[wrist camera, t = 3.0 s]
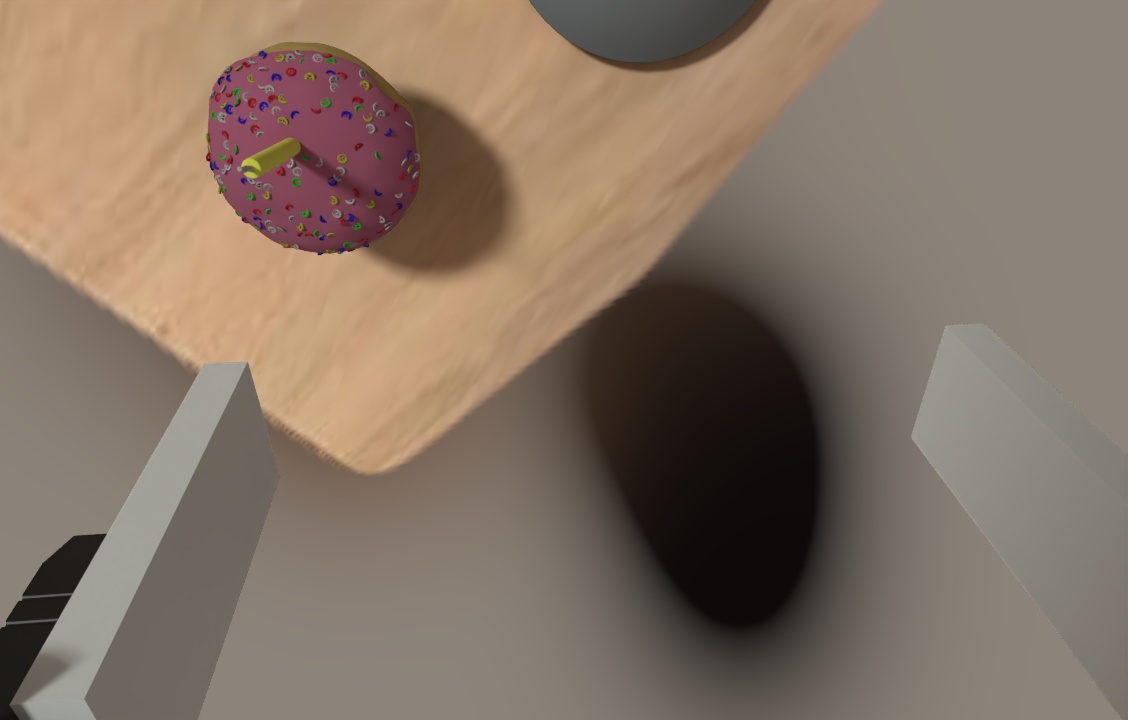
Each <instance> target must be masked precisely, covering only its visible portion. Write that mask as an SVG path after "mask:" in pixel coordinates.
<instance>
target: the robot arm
mask: <svg viewBox="0 0 1128 720" xmlns="http://www.w3.org/2000/svg"><path fill="white" fill-rule="evenodd" d="M911 438H912V439H913V441H914V442H915V443H916V445H917V446H918V447H919V449H920V450H921V451H922V453H923V454H924V455H925V457H926V458H927V459H928V461H929V462H930V463H931V465H932V466H933V467H934V469H935V470H936V471H937V473H938V474H939V475H940V477H941V478H942V479H943V481H944V482H945V483H946V485H947V486H948V487H949V489H950V490H951V491H952V493H953V494H954V495H955V497H956V498H957V500H958V501H959V502H960V504H961V505H962V506H963V508H964V509H965V510H966V511H967V513H968V514H969V516H970V517H971V518H972V520H973V521H974V522H975V524H976V525H977V526H978V528H979V529H980V530H981V531H982V533H983V534H984V535H985V537H986V538H987V540H988V541H989V542H990V544H991V545H992V546H993V548H994V549H995V550H996V551H997V553H998V554H999V556H1000V557H1001V558H1002V560H1003V561H1004V562H1005V564H1006V565H1007V566H1008V568H1009V569H1010V570H1011V572H1012V573H1013V574H1014V576H1015V577H1016V578H1017V580H1018V581H1019V582H1020V584H1021V585H1022V586H1023V588H1024V589H1025V590H1026V592H1027V593H1028V594H1029V596H1030V597H1031V599H1032V600H1033V601H1034V603H1035V604H1036V605H1037V606H1038V608H1039V609H1040V611H1041V612H1042V613H1043V614H1044V616H1045V617H1046V619H1047V620H1048V621H1049V623H1050V624H1051V625H1052V627H1053V628H1054V629H1055V630H1056V632H1057V633H1058V635H1059V636H1060V637H1061V639H1062V640H1063V641H1064V643H1065V644H1066V645H1067V647H1068V648H1069V649H1070V651H1071V652H1072V653H1073V655H1074V656H1075V657H1076V659H1077V660H1078V661H1079V663H1080V664H1081V665H1082V667H1083V668H1084V669H1085V671H1086V672H1087V673H1088V675H1089V676H1090V677H1091V679H1092V680H1093V681H1094V683H1095V684H1096V685H1097V687H1098V688H1099V689H1100V691H1101V692H1102V694H1103V695H1104V696H1105V698H1106V699H1107V700H1108V702H1109V703H1110V704H1111V706H1112V707H1113V708H1114V710H1115V711H1116V712H1117V714H1118V715H1119V716H1120V717H1121V719H1122V720H1128V454H1127V453H1125V452H1124V451H1123V450H1122V449H1121V448H1120V447H1119V446H1118V445H1117V444H1116V443H1114V442H1113V441H1112V440H1111V439H1110V438H1109V437H1108V436H1107V435H1106V434H1105V433H1104V432H1102V431H1101V430H1100V429H1099V428H1098V427H1097V426H1096V425H1095V424H1094V423H1092V422H1091V421H1090V420H1089V419H1088V418H1087V417H1086V416H1085V415H1084V414H1083V413H1082V412H1081V411H1079V410H1078V409H1077V408H1076V407H1075V406H1074V405H1073V404H1072V403H1071V402H1069V401H1068V400H1067V399H1066V398H1065V397H1064V396H1063V395H1062V394H1061V393H1060V392H1059V391H1057V390H1056V389H1055V388H1054V387H1053V386H1052V385H1051V384H1050V383H1049V382H1048V381H1047V380H1045V379H1044V378H1043V377H1042V376H1041V375H1040V374H1039V373H1038V372H1037V371H1035V370H1034V369H1033V368H1032V367H1031V366H1030V365H1029V364H1028V363H1027V362H1026V361H1025V360H1024V359H1022V358H1021V357H1020V356H1019V355H1018V354H1017V353H1016V352H1015V351H1014V350H1013V349H1011V348H1010V347H1009V346H1008V345H1007V344H1006V343H1005V342H1004V341H1003V340H1002V339H1000V338H999V337H998V336H997V335H996V334H995V333H994V332H993V331H992V330H991V329H990V328H988V327H987V326H986V325H985V324H964V325H946V327H945V330H944V333H943V337H942V340H941V343H940V346H939V349H938V353H937V356H936V359H935V362H934V365H933V368H932V372H931V375H930V378H929V381H928V385H927V388H926V391H925V394H924V398H923V401H922V404H921V407H920V410H919V414H918V416H917V420H916V423H915V426H914V429H913V433H912V436H911ZM279 479H280V474H279V470H278V467H277V463H276V460H275V456H274V453H273V449H272V446H271V442H270V439H269V435H268V431H267V428H266V424H265V421H264V417H263V414H262V410H261V407H260V403H259V400H258V396H257V393H256V389H255V385H254V382H253V378H252V375H251V371H250V368H249V364H248V362H232V363H212V364H204V365H203V367H202V369H201V370H200V372H199V374H198V376H197V377H196V379H195V381H194V383H193V384H192V386H191V388H190V390H189V391H188V393H187V395H186V397H185V399H184V400H183V402H182V404H181V405H180V407H179V409H178V411H177V412H176V414H175V416H174V418H173V420H172V421H171V423H170V425H169V427H168V428H167V430H166V432H165V434H164V435H163V437H162V439H161V440H160V442H159V444H158V446H157V447H156V449H155V451H154V453H153V454H152V456H151V458H150V460H149V461H148V463H147V465H146V467H145V468H144V470H143V472H142V474H141V475H140V477H139V479H138V481H137V482H136V484H135V486H134V488H133V490H132V491H131V493H130V495H129V497H128V498H127V500H126V502H125V503H124V505H123V507H122V509H121V511H120V512H119V514H118V516H117V518H116V519H115V521H114V523H113V525H112V526H111V528H110V530H109V531H108V533H107V534H95V535H82V536H81V535H79V536H73V537H72V538H71V539H70V540H69V541H68V542H67V543H65V544H64V545H63V546H62V547H61V548H60V549H59V550H58V551H56V552H55V553H54V554H53V555H52V556H51V557H49V558H48V559H47V560H46V561H45V562H44V563H43V564H42V565H41V567H40V568H39V570H38V571H37V573H36V575H35V576H34V578H33V579H32V581H31V582H30V584H29V585H28V587H27V589H26V590H25V592H24V593H23V599H22V601H18V603H17V604H16V606H15V607H14V609H13V610H12V612H11V613H10V615H9V617H8V618H7V620H6V626H5V627H2V628H1V629H0V720H198V717H199V714H200V711H201V708H202V705H203V702H204V699H205V696H206V693H207V690H208V688H209V685H210V682H211V679H212V676H213V673H214V670H215V667H216V664H217V661H218V658H219V655H220V652H221V649H222V646H223V643H224V640H225V637H226V634H227V631H228V629H229V626H230V623H231V620H232V617H233V614H234V611H235V608H236V605H237V602H238V599H239V596H240V593H241V590H242V588H243V585H244V582H245V579H246V576H247V573H248V570H249V567H250V564H251V561H252V558H253V555H254V552H255V549H256V546H257V543H258V540H259V538H260V534H261V532H262V529H263V526H264V523H265V520H266V517H267V514H268V511H269V508H270V505H271V502H272V499H273V496H274V493H275V490H276V488H277V484H278V481H279Z"/></svg>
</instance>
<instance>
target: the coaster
mask: <svg viewBox="0 0 1128 720" xmlns="http://www.w3.org/2000/svg"><path fill="white" fill-rule="evenodd" d="M529 1H530V2H531V4H532V5H533V7H534V8H535V9H536V10H537V12H538V13H539V14H540V15H541V17H542V18H543V19H544V20H545V21H546V22H547V23H548V24H549V25H550V26H551V27H552V28H553V29H554V30H555V31H557V32H558V33H559V34H560V35H562V36H563V37H564V38H566V39H567V40H569V41H570V42H571V43H573V44H575V45H576V46H578V47H580V48H582V49H584V50H586V51H588V52H590V53H593V54H596V55H598V56H601V57H604V58H608V59H613V60H618V61H622V62H638V63H641V62H655V61H661V60H666V59H670V58H675V57H678V56H680V55H683V54H686V53H689V52H692V51H694V50H696V49H698V48H700V47H702V46H703V45H705V44H707V43H709V42H711V41H712V40H714V39H715V38H716V37H718V36H719V35H721V34H722V33H724V32H725V31H726V30H727V29H729V28H730V27H731V26H732V25H733V24H734V23H736V22H737V21H738V20H739V19H740V18H741V17H742V16H743V15H744V13H745V12H746V11H747V10H748V9H749V8H750V7H751V6H752V5H753V3H754V2H755V1H756V0H529Z"/></svg>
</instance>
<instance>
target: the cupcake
mask: <svg viewBox="0 0 1128 720" xmlns="http://www.w3.org/2000/svg"><path fill="white" fill-rule="evenodd" d="M223 72H224V73H223V74H222V75H221V76H220V78H219V79H218V80H217V82H216V84H215V85H214V87H213V90H212V92H211V94H210V100H209V121H208V133H207V134H206V139H207V141H208V154H207V156H206V160H207V161H210V168H211V170H212V171H213V172H214V179H215V180H217V182H218V184H219V194H221V192H222V193H223V195H224V197H225V199H226V200H227V202H228V203H229V204H230V205H231V206H232V207H233V208H234V209H235V210H236V211H235V212H236V214H237V215H238V216H240V217H242V221H243V222H245V223H249V224H251V225H252V226H253V227H254V228H256V229H257V230H258V231H260V232H261V233H262V234H264V235H265V236H266V237H268V238H269V239H271V240H272V241H274V242H276V243H278V244H281V245H282V246H284V248H294V249H297V250H298V249H300V250H304V251H309V252H316V253H318V255H322V254H323V253H329V254H331V253H336V252H338V254H341V253H343V252H344V251H348V252H350V251H353V250H355V249H357V248H361V247H364V246H365V247H369V244H371V243H372V242H374V241H376V240H377V239H379V238H380V237H382V236H383V235H385V234H386V233H388V232H389V231H390V230H391V229H392V228H393V227H394V226H395V225H396V224H397V223H398V222H399V221H400V219H401V218H402V217H403V216H404V215H405V214H406V213H407V212H408V211H409V210H410V209H411V207H412V206H413V204H414V203H415V201H416V200H417V198H418V196H419V194H420V191H421V187H422V180H423V170H422V158H421V148H420V140H419V134H418V127H417V121H416V117H415V113H414V111H413V109H412V108H411V106H410V105H409V104H408V103H407V102H406V101H405V100H404V99H403V98H402V97H401V96H400V95H399V93H398V92H397V91H396V90H395V89H394V88H393V87H392V86H391V85H390V84H389V83H388V82H387V81H386V80H385V79H384V78H383V77H381V76H380V75H379V74H378V73H377V72H376V71H374V70H373V69H372V68H371V67H369V66H368V65H367V64H365V63H364V62H363V61H361V60H359V59H358V58H356V57H354V56H353V55H351V54H349V53H347V52H345V51H343V50H340V49H338V48H335V47H332V46H329V45H325V44H320V43H295V42H285V43H280V44H276V45H274V46H271V47H268V48H266V49H263V50H261V51H259V52H257V53H255V54H253V55H251V56H250V57H249V58H245V59H242V60H240V61H237V62H235V63H233V64H232V65H231V66H229V67H227V68H225V69H224V71H223ZM208 156H209V159H208Z"/></svg>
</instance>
